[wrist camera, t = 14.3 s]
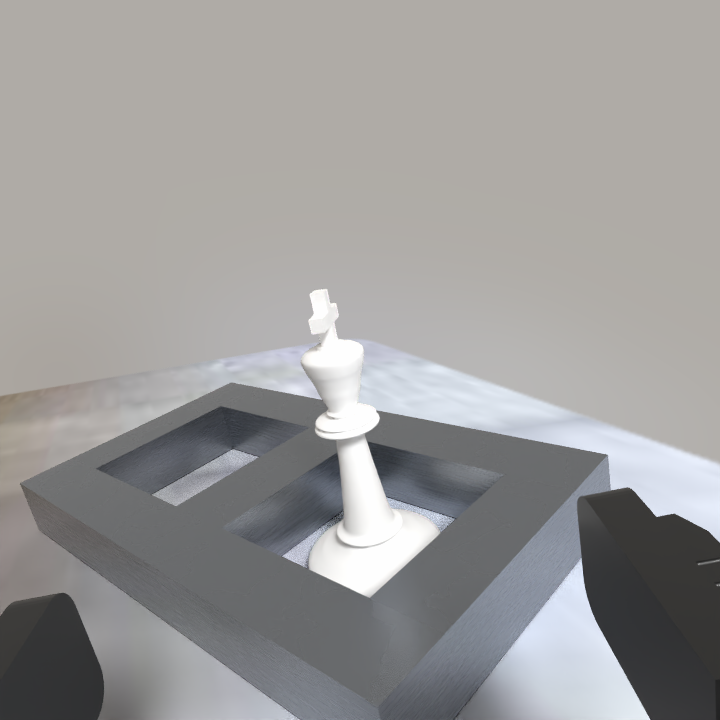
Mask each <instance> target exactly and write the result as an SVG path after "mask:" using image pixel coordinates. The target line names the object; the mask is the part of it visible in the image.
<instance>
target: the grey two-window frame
mask: <svg viewBox="0 0 720 720" xmlns="http://www.w3.org/2000/svg"><path fill="white" fill-rule="evenodd" d="M327 410H328V407H327V406H326V404H325V403H324V401H323V400H319V399H314V398H309V397H304V396H299V395H293V394H288V393H283V392H278V391H273V390H267V389H262V388H257V387H252V386H246V385H241V384H236V383H229V384H227V385H225V386H223V387H221V388H219V389H217V390H215V391H213V392H211V393H208V394H206V395H204V396H202V397H200V398H198V399H196V400H194V401H192V402H190V403H187V404H185V405H183V406H181V407H179V408H177V409H175V410H173V411H171V412H169V413H166V414H164V415H162V416H160V417H158V418H156V419H154V420H152V421H150V422H148V423H145V424H143V425H141V426H139V427H137V428H135V429H133V430H131V431H129V432H127V433H124V434H122V435H120V436H118V437H116V438H114V439H112V440H110V441H108V442H106V443H103V444H101V445H99V446H97V447H95V448H93V449H91V450H89V451H87V452H85V453H82V454H80V455H78V456H76V457H74V458H72V459H70V460H68V461H66V462H64V463H61V464H59V465H57V466H55V467H53V468H51V469H49V470H47V471H45V472H43V473H40V474H38V475H36V476H34V477H32V478H30V479H28V480H26V481H24V482H22V483H20V485H21V487H22V489H23V492H24V494H25V497H26V499H27V502H28V504H29V506H30V509H31V511H32V514H33V516H34V519H35V521H36V523H37V526H38V528H39V530H40V531H41V532H43V533H44V534H46V535H47V536H48V537H50V538H51V539H52V540H54V541H55V542H57V543H58V544H59V545H61V546H62V547H63V548H65V549H66V550H68V551H69V552H70V553H72V554H73V555H75V556H76V557H77V558H79V559H80V560H81V561H83V562H84V563H86V564H87V565H88V566H90V567H91V568H92V569H94V570H95V571H97V572H98V573H99V574H101V575H102V576H103V577H105V578H106V579H108V580H109V581H110V582H112V583H113V584H114V585H116V586H117V587H119V588H120V589H121V590H123V591H124V592H125V593H127V594H128V595H130V596H131V597H132V598H134V599H135V600H136V601H138V602H139V603H141V604H142V605H143V606H145V607H146V608H147V609H149V610H150V611H152V612H153V613H154V614H156V615H157V616H159V617H160V618H161V619H163V620H164V621H165V622H167V623H168V624H170V625H171V626H172V627H174V628H175V629H176V630H178V631H179V632H181V633H182V634H183V635H185V636H186V637H187V638H189V639H190V640H192V641H193V642H194V643H196V644H197V645H198V646H200V647H201V648H203V649H204V650H205V651H207V652H208V653H209V654H211V655H212V656H214V657H215V658H216V659H218V660H219V661H220V662H222V663H223V664H225V665H226V666H227V667H229V668H230V669H231V670H233V671H234V672H236V673H237V674H238V675H240V676H241V677H243V678H244V679H245V680H247V681H248V682H249V683H251V684H252V685H254V686H255V687H256V688H258V689H259V690H260V691H262V692H263V693H265V694H266V695H267V696H269V697H270V698H271V699H273V700H274V701H276V702H277V703H278V704H280V705H281V706H282V707H284V708H285V709H287V710H288V711H289V712H291V713H292V714H293V715H295V716H296V717H298V718H299V719H300V720H453V719H454V718H455V717H456V716H457V714H458V713H459V712H460V710H461V709H462V708H463V707H464V705H465V704H466V703H467V702H468V700H469V699H470V698H471V697H472V695H473V694H474V693H475V691H476V690H477V689H478V688H479V686H480V685H481V684H482V683H483V681H484V680H485V679H486V678H487V676H488V675H489V674H490V672H491V671H492V670H493V669H494V667H495V666H496V665H497V664H498V662H499V661H500V660H501V659H502V657H503V656H504V655H505V653H506V652H507V651H508V650H509V648H510V647H511V646H512V645H513V643H514V642H515V641H516V640H517V638H518V637H519V636H520V634H521V633H522V632H523V631H524V629H525V628H526V627H527V626H528V624H529V623H530V622H531V621H532V619H533V618H534V617H535V615H536V614H537V613H538V612H539V610H540V609H541V608H542V607H543V605H544V604H545V603H546V601H547V600H548V599H549V598H550V596H551V595H552V594H553V593H554V591H555V590H556V589H557V588H558V586H559V585H560V584H561V582H562V581H563V580H564V579H565V577H566V576H567V575H568V574H569V572H570V571H571V570H572V569H573V567H574V566H575V565H576V563H577V562H578V561H579V560H580V558H581V557H582V556H581V545H580V535H579V525H578V514H577V501H578V498H579V497H580V496H585V495H590V494H595V493H601V492H606V491H611V489H610V476H609V463H608V455H606V454H601V453H596V452H590V451H585V450H580V449H575V448H570V447H564V446H559V445H554V444H549V443H544V442H538V441H533V440H528V439H523V438H517V437H512V436H507V435H502V434H497V433H491V432H486V431H481V430H476V429H471V428H465V427H460V426H455V425H450V424H444V423H439V422H434V421H429V420H424V419H418V418H413V417H408V416H403V415H398V414H392V413H387V412H382V411H377V410H376V412H377V413H378V415H379V417H380V419H379V422H378V424H377V425H376V426H375V427H374V428H373V429H372V430H370V431H368V432H367V433H364V434H365V437H366V440H367V443H368V446H369V449H370V453H371V456H372V459H373V462H374V465H375V467H376V470H377V473H378V476H379V479H380V482H381V484H382V487H383V490H384V493H385V495H386V496H387V497H390V498H393V499H396V500H399V501H403V502H406V503H409V504H412V505H415V506H419V507H422V508H425V509H428V510H431V511H434V512H438V513H441V514H444V515H447V516H450V517H454V518H457V519H455V520H454V521H453V522H452V523H451V524H450V525H449V526H448V527H447V528H446V529H445V530H443V531H442V532H441V533H440V534H439V535H438V536H437V537H436V538H435V539H434V540H432V541H431V542H430V543H429V544H428V545H427V546H426V547H425V548H424V549H423V550H422V551H420V552H419V553H418V554H417V555H416V556H415V557H414V558H413V559H412V560H411V561H409V562H408V563H407V564H406V565H405V566H404V567H403V568H402V569H401V570H400V571H399V572H397V573H396V574H395V575H394V576H393V577H392V578H391V579H390V580H389V581H388V582H386V583H385V584H384V585H383V586H382V587H381V588H380V589H379V590H378V591H377V592H376V593H374V594H373V595H372V596H371V597H370V598H369V597H367V596H364V595H362V594H360V593H358V592H356V591H354V590H352V589H350V588H347V587H345V586H343V585H341V584H339V583H337V582H335V581H333V580H330V579H328V578H326V577H324V576H322V575H320V574H318V573H316V572H313V571H311V570H309V569H307V568H305V567H303V566H301V565H299V564H297V563H294V562H292V561H290V560H288V559H286V558H284V557H282V555H283V554H285V553H286V552H287V551H289V550H290V549H291V548H293V547H294V546H295V545H297V544H298V543H300V542H301V541H302V540H304V539H305V538H306V537H308V536H309V535H310V534H312V533H313V532H314V531H316V530H317V529H318V528H320V527H321V526H322V525H324V524H325V523H326V522H328V521H329V520H330V519H332V518H333V517H334V516H336V515H337V514H338V513H340V512H341V511H342V510H343V498H342V487H341V476H340V466H339V459H338V451H337V443H336V440H329V439H324V438H321V437H319V436H318V435H317V434H316V432H315V427H316V424H315V423H316V420H317V418H318V417H319V416H320V415H321V414H323V413H324V412H326V411H327ZM231 449H237V450H240V451H243V452H246V453H249V454H253V455H256V456H259V458H257V459H256V460H254V461H252V462H250V463H249V464H247V465H245V466H244V467H242V468H240V469H239V470H237V471H235V472H234V473H232V474H230V475H229V476H227V477H225V478H223V479H222V480H220V481H218V482H217V483H215V484H213V485H212V486H210V487H208V488H207V489H205V490H203V491H202V492H200V493H198V494H196V495H195V496H193V497H191V498H190V499H188V500H186V501H185V502H183V503H181V504H180V505H178V506H174V505H171V504H169V503H167V502H165V501H163V500H161V499H159V498H157V497H154V496H152V495H151V494H152V493H154V492H156V491H158V490H160V489H161V488H163V487H165V486H167V485H168V484H170V483H172V482H174V481H176V480H177V479H179V478H181V477H183V476H185V475H186V474H188V473H190V472H192V471H193V470H195V469H197V468H199V467H201V466H202V465H204V464H206V463H208V462H209V461H211V460H213V459H215V458H217V457H218V456H220V455H222V454H224V453H225V452H227V451H229V450H231Z"/></svg>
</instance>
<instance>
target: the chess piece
mask: <svg viewBox="0 0 720 720" xmlns="http://www.w3.org/2000/svg"><path fill="white" fill-rule="evenodd" d="M310 298H311V302H312V307H313V311H314V315H313V316H312V317H311V318H310V319H309V325H310V329H311V334H319V338H320V342H321V343H319V344H317V345H316V346H314V347H312V348H311V349H309V350H308V351H306V352H305V353H304V355H303V356H302V358H301V365H302V367H303V369H304V371H305V372H306V374H307V376H308V377H309V378H310V380H311V381H312V383H313V384H314V386H315V387H316V389H317V391H318V393H319V395H320V397H321V398H322V400H323V401H324V403H325V404H326V406H327V407H328V410H327V411H326V412H324V413H323V414H321V415H320V416H319V417H318V418H317V420H316V423H315V424H316V427H315V432H316V434H317V435H318V436H319V437H321V438H324V439H329V440H336V443H337V451H338V459H339V466H340V476H341V487H342V498H343V511H344V518H343V519H342V520H341V521H340V522H338V523H336V524H335V525H333V526H332V527H331V528H329V529H328V530H327V531H326V532H324V533H323V534H322V535H321V536H320V537H319V539H318V540H317V541H316V543H315V544H314V546H313V548H312V550H311V552H310V555H309V560H308V567H309V570H311V571H313V572H316V573H318V574H320V575H322V576H324V577H326V578H328V579H330V580H333V581H335V582H337V583H339V584H341V585H343V586H345V587H347V588H350V589H352V590H354V591H356V592H358V593H360V594H362V595H364V596H367V597H369V598H370V597H371V596H372V595H373V594H374V593H376V592H377V591H378V590H379V589H380V588H381V587H382V586H383V585H384V584H385V583H386V582H388V581H389V580H390V579H391V578H392V577H393V576H394V575H395V574H396V573H397V572H399V571H400V570H401V569H402V568H403V567H404V566H405V565H406V564H407V563H408V562H409V561H411V560H412V559H413V558H414V557H415V556H416V555H417V554H418V553H419V552H420V551H422V550H423V549H424V548H425V547H426V546H427V545H428V544H429V543H430V542H431V541H432V540H434V539H435V538H436V537H437V536H438V535H439V534H440V533H441V532H440V530H439V529H438V527H437V526H436V525H435V524H434V523H433V522H432V521H431V520H429V519H428V518H426V517H425V516H423V515H421V514H418V513H415V512H412V511H408V510H402V509H393V508H391V507H390V506H389V503H388V501H387V498H386V495H385V493H384V490H383V487H382V484H381V482H380V479H379V476H378V473H377V470H376V467H375V465H374V462H373V459H372V456H371V453H370V449H369V446H368V443H367V440H366V437H365V434H364V433H367V432H368V431H370V430H372V429H373V428H374V427H375V426H376V425H377V424H378V422H379V419H380V417H379V415H378V413H377V412H376V409H375V408H374V407H372V406H370V405H367V404H360V403H359V402H358V399H359V393H360V386H361V372H362V366H363V361H364V348H363V346H362V345H361V344H359V343H358V342H355V341H351V340H342V339H338V337H337V333H336V328H335V324H334V321H335V320H336V319H337V318H338V316H339V314H338V310H337V305H336V303H332V304H330V300H329V296H328V291H327V289H322V290H315V291H313V292H312V293H311V294H310Z"/></svg>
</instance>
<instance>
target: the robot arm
mask: <svg viewBox="0 0 720 720" xmlns="http://www.w3.org/2000/svg"><path fill="white" fill-rule="evenodd" d="M577 514H578V525H579V535H580V545H581V556H582V566H583V576H584V584H585V589H586V593H587V597H588V601H589V604H590V607H591V610H592V612H593V615H594V617H595V620H596V622H597V624H598V626H599V627H600V629H601V631H602V633H603V635H604V636H605V638H606V640H607V642H608V644H609V646H610V647H611V649H612V651H613V653H614V655H615V656H616V658H617V660H618V662H619V664H620V665H621V667H622V669H623V671H624V673H625V674H626V676H627V678H628V680H629V682H630V683H631V685H632V687H633V689H634V691H635V692H636V694H637V696H638V698H639V700H640V702H641V703H642V705H643V707H644V709H645V711H646V712H647V714H648V716H649V718H650V720H720V543H719V542H718V541H717V540H716V539H715V538H714V537H713V536H712V535H711V533H710V532H709V531H707V530H705V529H703V528H701V527H699V526H697V525H695V524H693V523H692V522H690V521H688V520H686V519H684V518H682V517H680V516H678V515H676V514H670V515H665V516H660V517H656V516H655V515H654V514H653V512H652V511H651V510H650V509H649V508H648V507H647V506H646V504H645V503H644V502H643V501H642V500H641V499H640V498H639V496H638V495H637V494H636V493H635V492H634V491H633V490H632V489H630V488H622V489H617V490H611V491H606V492H601V493H595V494H590V495H585V496H580V497H579V498H578V501H577ZM103 695H104V681H103V674H102V670H101V667H100V664H99V662H98V660H97V657H96V655H95V652H94V650H93V647H92V645H91V642H90V640H89V637H88V635H87V633H86V630H85V628H84V625H83V623H82V620H81V618H80V615H79V613H78V611H77V608H76V606H75V604H74V602H73V600H72V599H71V597H70V596H69V595H67V594H65V593H58V594H53V595H47V596H42V597H37V598H32V599H26V600H21V601H16V602H13V603H11V604H10V605H9V606H8V607H7V608H6V609H5V611H4V612H3V613H2V615H1V616H0V720H97V719H98V717H99V714H100V711H101V708H102V703H103Z"/></svg>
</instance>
